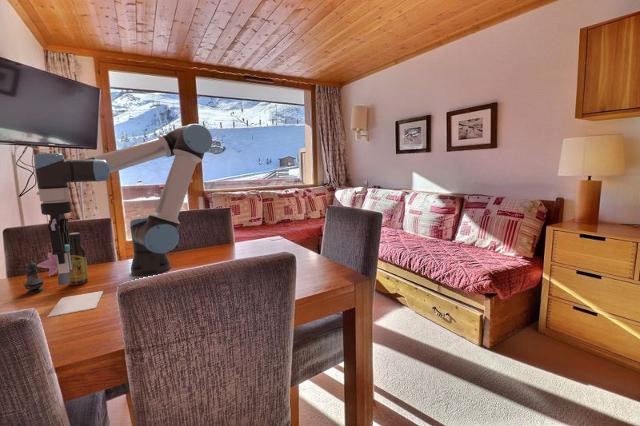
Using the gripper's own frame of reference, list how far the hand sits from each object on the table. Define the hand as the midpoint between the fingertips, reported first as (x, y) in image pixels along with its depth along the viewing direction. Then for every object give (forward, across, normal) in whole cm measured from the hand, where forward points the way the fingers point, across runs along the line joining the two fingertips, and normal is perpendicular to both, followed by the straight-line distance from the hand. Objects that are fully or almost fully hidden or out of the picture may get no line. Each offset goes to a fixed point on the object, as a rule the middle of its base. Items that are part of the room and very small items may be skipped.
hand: (65, 271), depth 107 cm
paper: (+10, +5, +3) cm, 12 cm away
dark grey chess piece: (+11, -17, -14) cm, 24 cm away
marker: (+4, 0, -1) cm, 4 cm away
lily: (+11, -40, -12) cm, 43 cm away
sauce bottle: (+10, -19, -1) cm, 22 cm away
